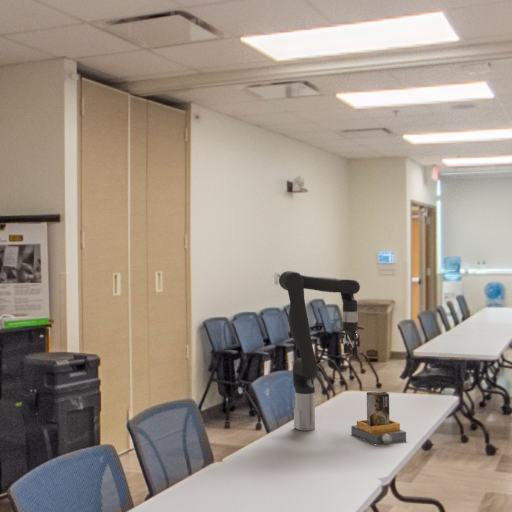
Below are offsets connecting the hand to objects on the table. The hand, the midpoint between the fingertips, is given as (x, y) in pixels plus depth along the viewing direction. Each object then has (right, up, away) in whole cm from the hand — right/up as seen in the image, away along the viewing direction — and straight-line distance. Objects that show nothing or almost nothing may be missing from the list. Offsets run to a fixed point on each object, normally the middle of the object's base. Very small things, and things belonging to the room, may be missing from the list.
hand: (350, 354), depth 358 cm
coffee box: (+9, -30, -25) cm, 41 cm away
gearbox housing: (+10, -34, -27) cm, 44 cm away
